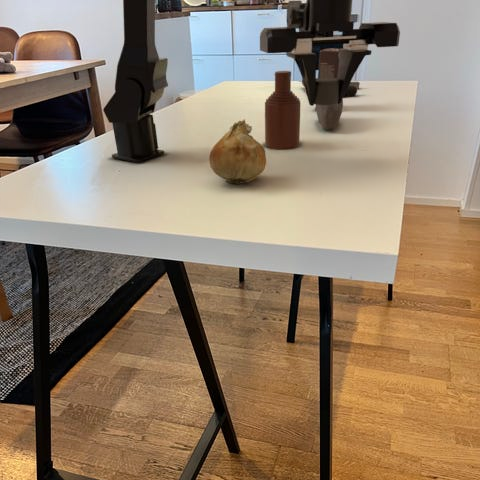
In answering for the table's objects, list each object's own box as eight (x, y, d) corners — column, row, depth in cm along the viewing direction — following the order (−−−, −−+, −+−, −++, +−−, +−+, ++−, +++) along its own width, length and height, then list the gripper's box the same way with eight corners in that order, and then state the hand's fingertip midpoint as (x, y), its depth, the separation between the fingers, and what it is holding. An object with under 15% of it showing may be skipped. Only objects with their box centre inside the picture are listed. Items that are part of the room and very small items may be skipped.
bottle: (288, 150, 81) (289, 74, 75) (258, 146, 84) (257, 73, 78) (305, 142, 85) (308, 70, 79) (276, 139, 88) (276, 69, 82)
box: (334, 111, 107) (338, 50, 101) (314, 110, 109) (317, 50, 102) (340, 106, 112) (345, 47, 105) (321, 106, 114) (325, 48, 107)
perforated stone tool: (339, 134, 89) (343, 93, 85) (311, 134, 90) (313, 93, 86) (342, 118, 101) (345, 81, 98) (317, 118, 102) (319, 82, 99)
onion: (202, 178, 70) (197, 120, 65) (252, 170, 72) (251, 113, 68) (222, 193, 64) (218, 130, 59) (275, 184, 66) (276, 123, 62)
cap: (318, 106, 70) (319, 82, 68) (306, 101, 73) (307, 79, 71) (343, 103, 71) (344, 80, 69) (330, 99, 74) (331, 77, 72)
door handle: (353, 76, 138) (297, 74, 137) (373, 86, 121) (310, 85, 120) (351, 88, 140) (296, 87, 139) (371, 100, 123) (309, 99, 122)
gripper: (375, -23, 71) (363, 92, 80) (251, -19, 69) (253, 99, 77) (409, -28, 62) (392, 103, 70) (268, -23, 59) (268, 112, 68)
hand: (324, 104), depth 72 cm, fingers closed on cap, 4 cm apart
